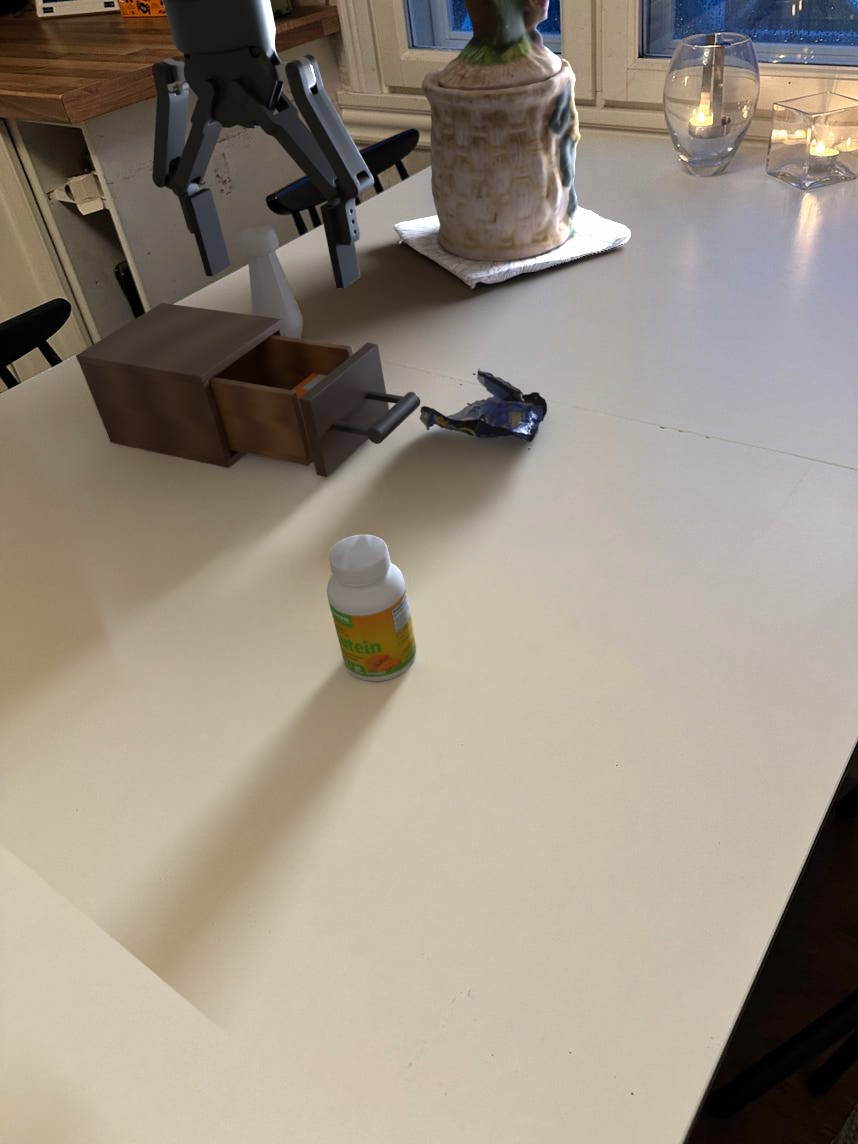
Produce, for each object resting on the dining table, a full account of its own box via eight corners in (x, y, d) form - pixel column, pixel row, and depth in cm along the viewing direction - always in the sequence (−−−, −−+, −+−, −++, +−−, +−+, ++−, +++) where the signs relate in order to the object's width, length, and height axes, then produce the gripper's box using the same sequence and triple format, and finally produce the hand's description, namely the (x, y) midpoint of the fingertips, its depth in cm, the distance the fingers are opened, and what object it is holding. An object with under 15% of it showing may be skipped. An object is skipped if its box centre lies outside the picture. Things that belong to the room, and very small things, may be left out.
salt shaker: (267, 331, 116) (239, 220, 107) (312, 330, 115) (287, 218, 106) (252, 353, 112) (221, 240, 103) (299, 352, 111) (272, 237, 102)
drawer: (437, 426, 93) (426, 350, 88) (376, 488, 86) (360, 409, 80) (273, 397, 101) (255, 326, 96) (205, 452, 93) (180, 378, 88)
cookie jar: (474, 295, 118) (443, -15, 97) (389, 242, 135) (347, -33, 113) (637, 243, 126) (642, -55, 104) (538, 199, 142) (525, -66, 121)
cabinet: (303, 407, 100) (281, 318, 94) (228, 468, 92) (200, 376, 86) (188, 386, 107) (161, 302, 100) (110, 442, 99) (75, 355, 92)
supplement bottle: (332, 675, 69) (302, 569, 63) (364, 628, 73) (340, 523, 66) (399, 690, 67) (376, 582, 61) (429, 640, 71) (410, 533, 65)
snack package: (475, 391, 100) (401, 440, 93) (478, 335, 95) (401, 381, 88) (570, 436, 95) (500, 491, 88) (579, 379, 90) (506, 432, 84)
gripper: (47, -3, 71) (142, 281, 85) (331, -15, 61) (385, 306, 76) (115, -22, 76) (194, 250, 90) (388, -36, 66) (428, 270, 80)
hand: (281, 276), depth 83 cm, fingers open, 13 cm apart
